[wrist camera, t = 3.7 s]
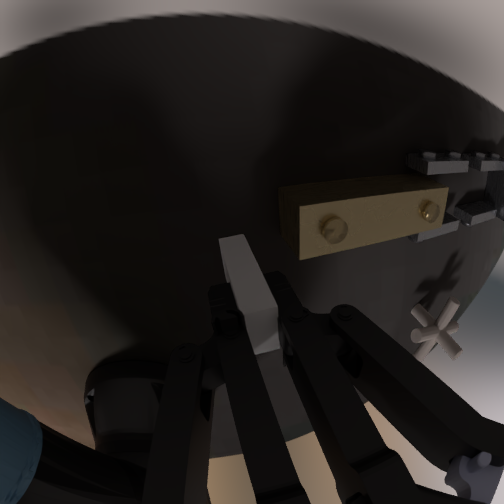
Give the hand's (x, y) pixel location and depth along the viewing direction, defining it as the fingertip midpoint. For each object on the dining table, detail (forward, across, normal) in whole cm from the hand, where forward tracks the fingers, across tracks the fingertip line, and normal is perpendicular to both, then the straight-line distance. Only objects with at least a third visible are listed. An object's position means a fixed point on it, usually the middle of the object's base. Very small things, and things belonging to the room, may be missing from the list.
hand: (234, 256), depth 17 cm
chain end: (+5, +21, 0) cm, 22 cm away
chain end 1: (+6, +32, 0) cm, 33 cm away
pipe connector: (+6, +24, -18) cm, 31 cm away
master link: (+6, +12, 0) cm, 13 cm away
